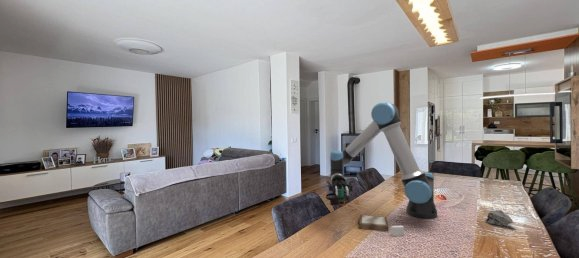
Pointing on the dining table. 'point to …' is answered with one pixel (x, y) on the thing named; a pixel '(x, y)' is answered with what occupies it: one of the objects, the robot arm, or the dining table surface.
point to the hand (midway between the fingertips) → (342, 192)
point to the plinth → (373, 223)
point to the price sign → (397, 230)
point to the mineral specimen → (498, 218)
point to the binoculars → (340, 196)
